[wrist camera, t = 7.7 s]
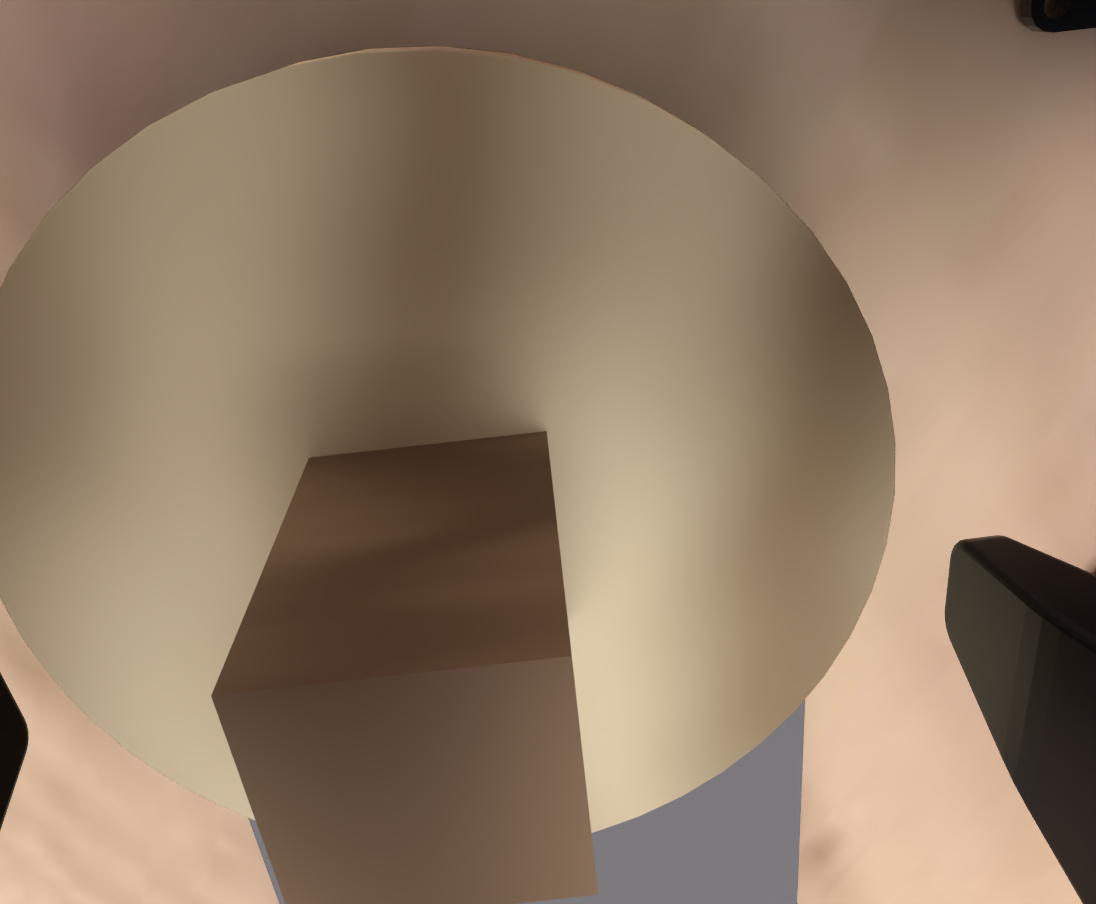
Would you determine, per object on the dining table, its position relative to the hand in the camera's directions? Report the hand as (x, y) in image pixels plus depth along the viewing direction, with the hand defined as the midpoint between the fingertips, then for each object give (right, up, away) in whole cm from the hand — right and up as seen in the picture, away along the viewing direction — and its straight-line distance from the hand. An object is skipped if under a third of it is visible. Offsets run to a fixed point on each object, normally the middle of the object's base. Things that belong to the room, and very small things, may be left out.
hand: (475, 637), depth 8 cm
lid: (-1, +1, +7) cm, 7 cm away
